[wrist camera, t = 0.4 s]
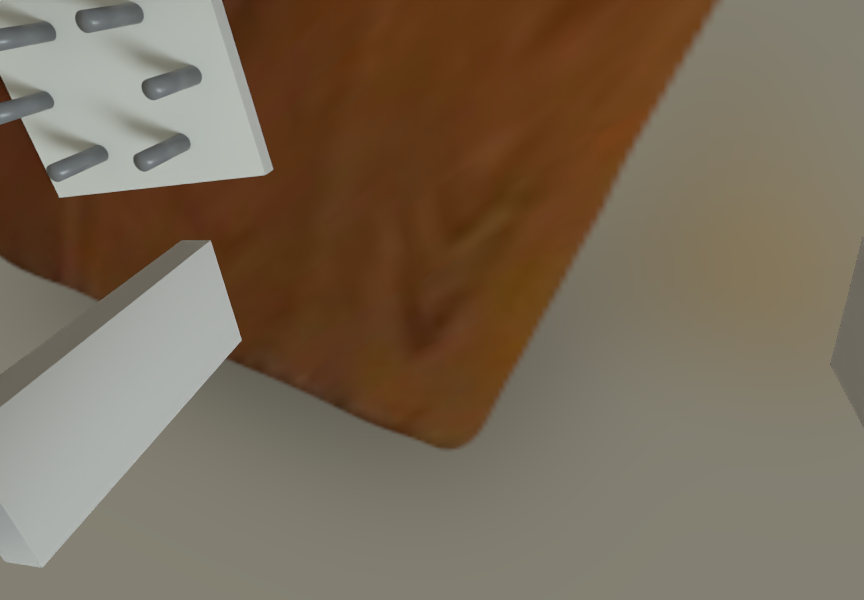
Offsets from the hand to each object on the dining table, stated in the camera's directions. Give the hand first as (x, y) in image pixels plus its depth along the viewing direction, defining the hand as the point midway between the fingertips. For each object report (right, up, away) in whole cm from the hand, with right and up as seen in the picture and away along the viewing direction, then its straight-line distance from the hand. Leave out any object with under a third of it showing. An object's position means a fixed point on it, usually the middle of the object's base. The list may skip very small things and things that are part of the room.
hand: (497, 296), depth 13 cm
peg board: (-22, +15, +29) cm, 40 cm away
